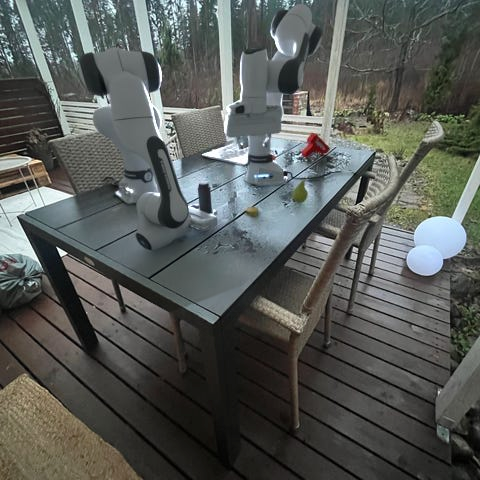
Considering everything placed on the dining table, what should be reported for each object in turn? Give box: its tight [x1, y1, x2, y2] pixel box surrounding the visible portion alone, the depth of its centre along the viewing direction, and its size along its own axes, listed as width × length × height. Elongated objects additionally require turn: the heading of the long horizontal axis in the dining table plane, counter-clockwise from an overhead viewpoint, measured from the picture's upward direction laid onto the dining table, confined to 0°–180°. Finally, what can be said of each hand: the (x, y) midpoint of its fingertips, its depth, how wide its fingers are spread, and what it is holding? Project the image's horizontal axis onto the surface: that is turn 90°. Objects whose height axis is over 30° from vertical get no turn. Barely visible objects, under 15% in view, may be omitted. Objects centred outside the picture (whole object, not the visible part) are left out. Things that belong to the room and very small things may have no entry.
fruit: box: [291, 174, 311, 204], centre depth 118 cm, size 7×8×12 cm
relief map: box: [201, 142, 249, 166], centre depth 183 cm, size 27×35×5 cm
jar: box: [197, 180, 213, 214], centre depth 103 cm, size 5×5×16 cm
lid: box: [245, 206, 259, 217], centre depth 112 cm, size 5×5×2 cm
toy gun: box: [300, 132, 330, 159], centre depth 180 cm, size 18×4×15 cm
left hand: (206, 208), depth 105 cm, fingers open, 8 cm apart
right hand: (253, 148), depth 99 cm, fingers open, 8 cm apart
